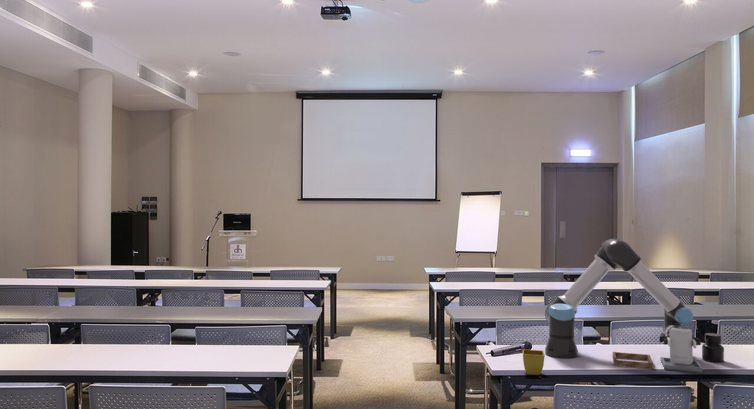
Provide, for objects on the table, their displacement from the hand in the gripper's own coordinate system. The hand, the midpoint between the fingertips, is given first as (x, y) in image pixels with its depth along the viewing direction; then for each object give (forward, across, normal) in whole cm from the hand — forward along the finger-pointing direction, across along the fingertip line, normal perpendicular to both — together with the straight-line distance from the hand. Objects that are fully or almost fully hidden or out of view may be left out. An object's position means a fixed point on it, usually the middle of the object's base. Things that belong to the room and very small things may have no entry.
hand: (682, 344), depth 267 cm
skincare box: (-4, 0, -9) cm, 10 cm away
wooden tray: (-4, +20, -11) cm, 23 cm away
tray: (-4, 0, -11) cm, 12 cm away
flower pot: (+31, +61, -11) cm, 69 cm away
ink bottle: (-23, -16, -11) cm, 31 cm away
